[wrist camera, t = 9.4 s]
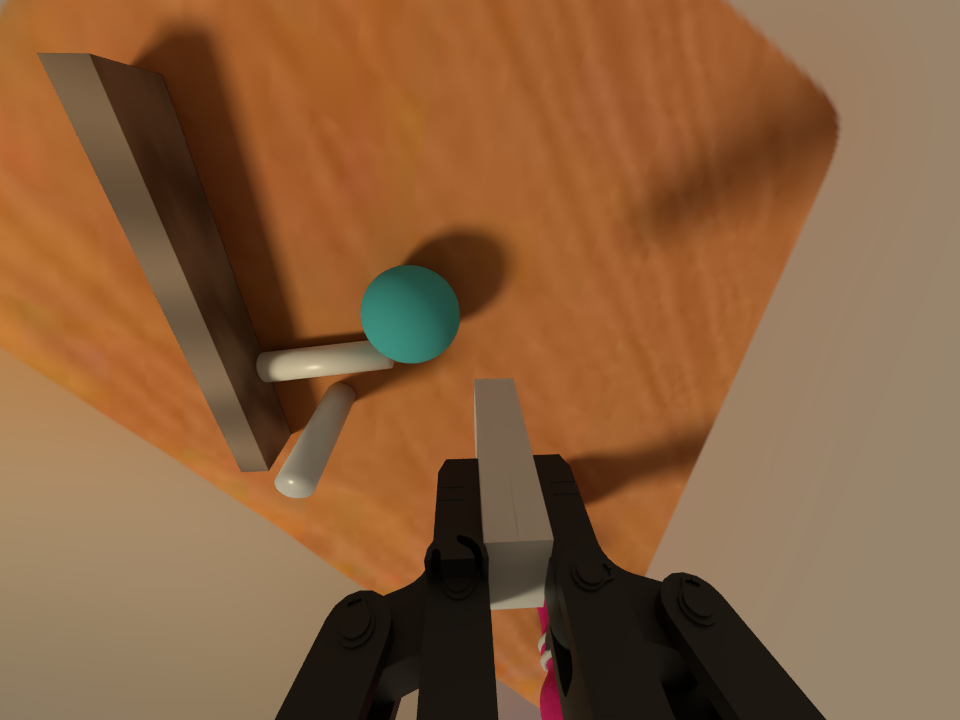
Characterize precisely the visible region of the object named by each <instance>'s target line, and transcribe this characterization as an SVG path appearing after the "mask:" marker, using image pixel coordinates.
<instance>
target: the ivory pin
mask: <svg viewBox="0 0 960 720" xmlns="http://www.w3.org/2000/svg"><path fill="white" fill-rule="evenodd" d="M393 365H394V360H392V359H390V358H388V357H386V356H385V355H383V354H382V353H380V352H379V351H378V350H377V349H376V348H375V347H374V346H373V345H372V344H371V343H370V341H369V340H367V341H358V342H349V343H340V344H331V345H323V346H314V347H305V348H296V349H287V350H279V351H270V352H263V353H261V354H260V355H259V356H258V358H257V362H256V367H257V372H258V375H259V377H260V378H261V379H262V380H263V381H264V382H276V381H284V380H293V379H302V378H311V377H320V376H329V375H337V374H346V373H355V372H364V371H373V370H382V369H391V368H393Z"/></svg>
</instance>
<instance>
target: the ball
mask: <svg viewBox="0 0 960 720" xmlns="http://www.w3.org/2000/svg"><path fill="white" fill-rule="evenodd" d="M361 322H362V326H363V329H364V332H365V334H366V336H367V338H368V340H369V341H370V343H371V344H372V345H373V346H374V347H375V348H376V349H377V350H378V351H379V352H380V353H382V354H383V355H385V356H386V357H388V358H390V359H392V360H395V361H398V362H403V363H420V362H425V361H428V360H431V359H433V358H435V357H437V356H438V355H440V354H441V353H442V352H444V351H445V350H446V349H447V348H448V347H449V345H450V344H451V343H452V341H453V340H454V338H455V336H456V334H457V331H458V328H459V323H460V308H459V303H458V300H457V297H456V295H455V293H454V291H453V289H452V288H451V286H450V285H449V284H448V282H447V281H446V280H445V279H444V278H443V277H441V276H440V275H439V274H437V273H436V272H434V271H432V270H430V269H428V268H425V267H421V266H416V265H402V266H397V267H394V268H391V269H389V270H386V271H385V272H383V273H381V274H380V275H379V276H377V277H376V278H375V279H374V280H373V281H372V283H371V284H370V285H369V287H368V288H367V290H366V292H365V294H364V296H363V299H362V304H361Z"/></svg>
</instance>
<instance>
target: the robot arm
mask: <svg viewBox="0 0 960 720" xmlns="http://www.w3.org/2000/svg"><path fill="white" fill-rule="evenodd" d="M474 414H475V448H476V458H474V459H447V460H445V462H444V464H443V466H442V467H441V469H440V471H439V472H438V484H437V498H436V512H435V525H434V539H433V542H432V543H431V545H430V546H429V547H428V549H427V552H426V556H425V559H424V564H425V571H424V573H423V574H422V575H421V576H420V577H419V578H418V579H417V580H416V581H414V582H413V583H411V584H410V585H408V586H406V587H404V588H401V589H399V590H397V591H394V592H392V593H389V594H387V595H385V596H382V595H381V594H378V593H376V592H374V591H372V590H369V591H358V592H355V593H353V594H350V595H348V596H346V597H345V598H344V599H343V600H341V601H340V602H339V603H338V604H337V605H335V607H334V608H333V609H332V611H331V612H330V614H329V616H328V617H327V618H326V620H325V622H324V624H323V626H322V628H321V630H320V632H319V634H318V636H317V637H316V640H315V641H314V643H313V645H312V647H311V649H310V651H309V653H308V655H307V657H306V659H305V661H304V663H303V665H302V667H301V669H300V671H299V673H298V675H297V677H296V679H295V681H294V683H293V685H292V687H291V689H290V691H289V692H288V695H287V697H286V698H285V700H284V702H283V704H282V706H281V708H280V710H279V712H278V714H277V716H276V718H275V720H395V718H396V714H397V711H398V708H399V704H400V701H401V698H402V697H403V696H405V695H407V694H409V693H411V692H413V691H415V690H417V689H419V696H418V709H417V720H498V708H497V694H496V679H495V664H494V650H493V636H492V622H491V610H498V609H516V608H533V607H543V605H544V598H545V602H546V607H547V612H548V617H549V620H548V625H547V631H546V636H545V651H550V650H551V655H552V661H553V666H554V672H555V677H556V682H557V688H558V693H559V699H560V704H561V710H562V715H563V720H826V719H825V718H824V716H823V715H822V714H821V713H820V712H819V711H818V709H817V708H816V707H815V706H814V705H813V703H812V702H811V701H810V700H809V699H808V698H807V696H806V695H805V694H804V693H803V692H802V690H801V689H800V688H799V687H798V685H797V684H796V683H795V682H794V681H793V680H792V678H791V677H790V676H789V675H788V674H787V672H786V671H785V670H784V669H783V668H782V666H781V665H780V664H779V663H778V662H777V661H776V659H775V658H774V657H773V656H772V655H771V653H770V652H769V651H768V650H767V649H766V647H765V646H764V645H763V644H762V643H761V641H760V640H759V639H758V638H757V637H756V635H755V634H754V633H753V632H752V631H751V630H750V629H749V627H748V626H747V625H746V624H745V622H744V621H743V620H742V619H741V618H740V616H739V615H738V614H737V613H736V612H735V610H734V609H733V608H732V607H731V606H730V605H729V603H728V602H727V601H726V600H725V599H724V597H723V596H722V595H721V594H720V593H719V592H718V591H717V590H716V589H715V588H714V587H712V586H711V585H710V584H709V583H707V582H706V581H704V580H702V579H701V578H699V577H697V576H694V575H691V574H687V573H684V572H681V573H672V574H670V575H669V576H668V577H666V578H665V579H664V580H663V582H661V581H657V580H654V579H650V578H647V577H643V576H639V575H636V574H633V573H630V572H628V571H625V570H623V569H622V568H620V567H618V566H617V565H615V564H614V563H613V562H612V561H611V560H610V559H609V558H607V556H606V555H605V554H604V552H603V551H602V550H601V548H600V546H599V544H598V542H597V539H596V536H595V533H594V531H593V528H592V525H591V523H590V520H589V517H588V514H587V512H586V509H585V506H584V503H583V501H582V498H581V496H580V493H579V490H578V487H577V484H575V479H574V476H573V473H572V471H571V468H570V466H569V465H568V464H567V463H566V462H565V460H564V459H563V458H562V457H561V456H560V455H559V454H553V455H532V451H531V447H530V443H529V439H528V435H527V431H526V427H525V423H524V419H523V415H522V411H521V407H520V403H519V399H518V395H517V391H516V387H515V383H514V379H513V378H506V379H474Z"/></svg>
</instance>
